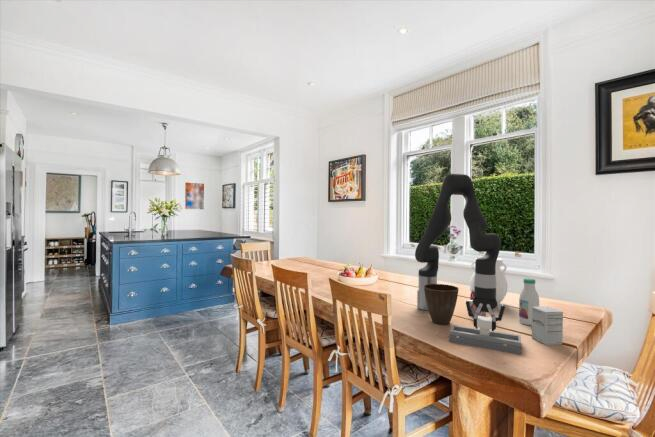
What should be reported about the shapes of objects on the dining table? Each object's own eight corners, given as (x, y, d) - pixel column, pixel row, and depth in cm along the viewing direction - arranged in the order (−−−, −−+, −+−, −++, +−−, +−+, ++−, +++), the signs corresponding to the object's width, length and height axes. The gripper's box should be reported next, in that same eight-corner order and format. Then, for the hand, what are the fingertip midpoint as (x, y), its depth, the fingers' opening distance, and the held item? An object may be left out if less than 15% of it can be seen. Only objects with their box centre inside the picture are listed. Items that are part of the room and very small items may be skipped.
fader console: (449, 341, 126) (449, 332, 126) (453, 331, 137) (453, 323, 137) (521, 354, 115) (521, 344, 115) (520, 342, 125) (520, 333, 125)
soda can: (487, 318, 154) (488, 293, 154) (471, 317, 156) (472, 292, 156) (483, 313, 161) (484, 289, 161) (468, 312, 163) (468, 288, 163)
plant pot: (416, 319, 153) (417, 285, 153) (441, 315, 159) (442, 282, 158) (439, 329, 139) (439, 292, 139) (465, 325, 145) (466, 289, 145)
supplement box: (531, 337, 130) (531, 306, 130) (548, 337, 131) (548, 305, 131) (544, 345, 123) (545, 311, 123) (563, 344, 123) (563, 311, 123)
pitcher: (508, 302, 183) (509, 257, 182) (506, 310, 167) (506, 261, 167) (472, 297, 193) (472, 255, 192) (466, 305, 177) (467, 258, 177)
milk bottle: (536, 321, 150) (536, 278, 150) (541, 327, 143) (541, 281, 142) (517, 319, 152) (517, 277, 152) (521, 325, 145) (521, 280, 145)
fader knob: (476, 337, 125) (477, 319, 125) (477, 333, 129) (478, 315, 129) (491, 340, 122) (491, 321, 122) (492, 335, 127) (492, 317, 126)
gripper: (463, 285, 126) (463, 329, 126) (506, 289, 119) (505, 336, 119) (466, 281, 132) (465, 323, 132) (506, 285, 125) (506, 329, 125)
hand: (484, 329), depth 126 cm, fingers closed on fader knob, 5 cm apart
